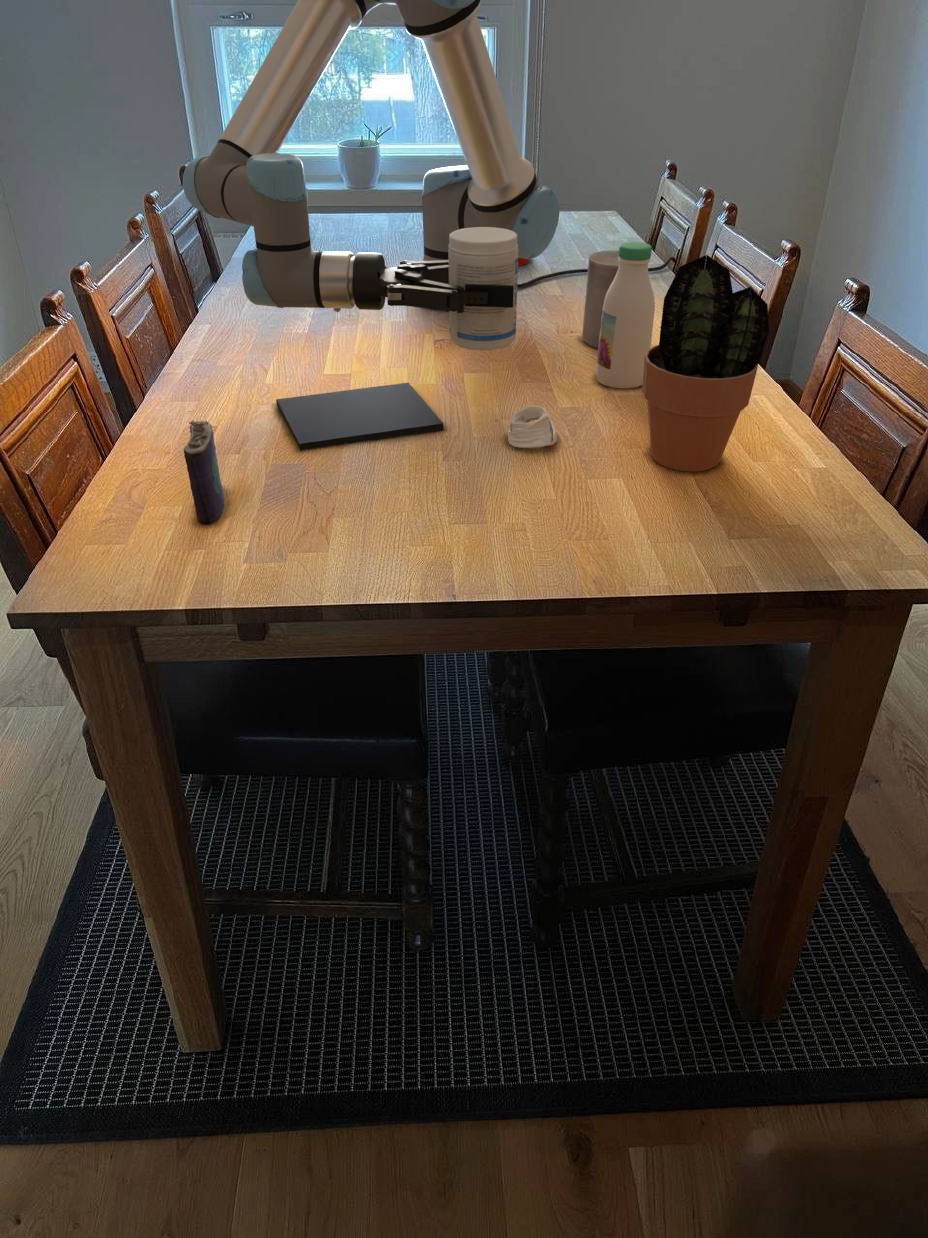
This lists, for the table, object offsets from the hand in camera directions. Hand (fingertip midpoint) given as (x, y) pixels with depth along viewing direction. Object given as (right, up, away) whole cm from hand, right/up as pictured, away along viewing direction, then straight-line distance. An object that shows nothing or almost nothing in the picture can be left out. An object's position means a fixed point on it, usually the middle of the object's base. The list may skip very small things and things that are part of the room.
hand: (514, 285), depth 127 cm
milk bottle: (+17, -10, +15) cm, 24 cm away
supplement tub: (-4, -6, +5) cm, 9 cm away
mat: (-22, -18, +2) cm, 28 cm away
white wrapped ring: (+2, -23, -4) cm, 23 cm away
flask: (-37, -33, -19) cm, 53 cm away
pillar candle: (+18, +1, +30) cm, 35 cm away
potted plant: (+22, -25, -7) cm, 34 cm away
